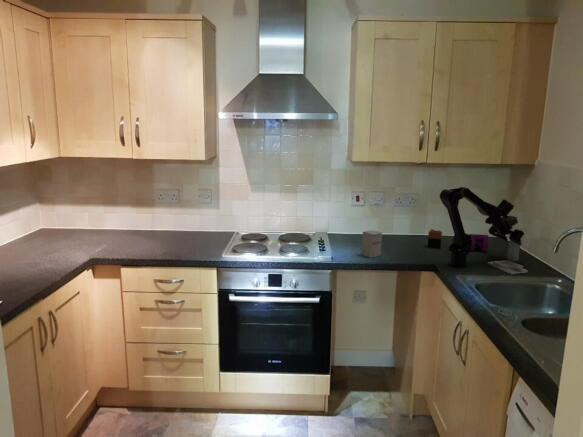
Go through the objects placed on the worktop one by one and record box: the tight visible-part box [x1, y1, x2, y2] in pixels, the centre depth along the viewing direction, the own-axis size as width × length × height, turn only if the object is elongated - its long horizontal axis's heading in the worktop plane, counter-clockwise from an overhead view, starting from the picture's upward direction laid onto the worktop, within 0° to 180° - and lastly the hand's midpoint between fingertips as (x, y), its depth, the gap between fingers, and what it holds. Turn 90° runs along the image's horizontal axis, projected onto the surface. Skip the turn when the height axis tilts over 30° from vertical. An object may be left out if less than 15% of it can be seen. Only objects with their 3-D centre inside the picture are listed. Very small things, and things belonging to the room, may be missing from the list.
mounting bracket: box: [469, 233, 489, 253], centre depth 260 cm, size 9×8×18 cm
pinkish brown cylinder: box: [361, 229, 383, 259], centre depth 242 cm, size 7×7×13 cm
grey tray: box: [487, 259, 529, 275], centre depth 225 cm, size 9×17×2 cm, turn 17°
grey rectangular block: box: [506, 239, 521, 262], centre depth 238 cm, size 4×4×10 cm
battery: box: [427, 229, 443, 250], centre depth 260 cm, size 4×7×10 cm, turn 67°
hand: (513, 242), depth 237 cm, fingers open, 9 cm apart
